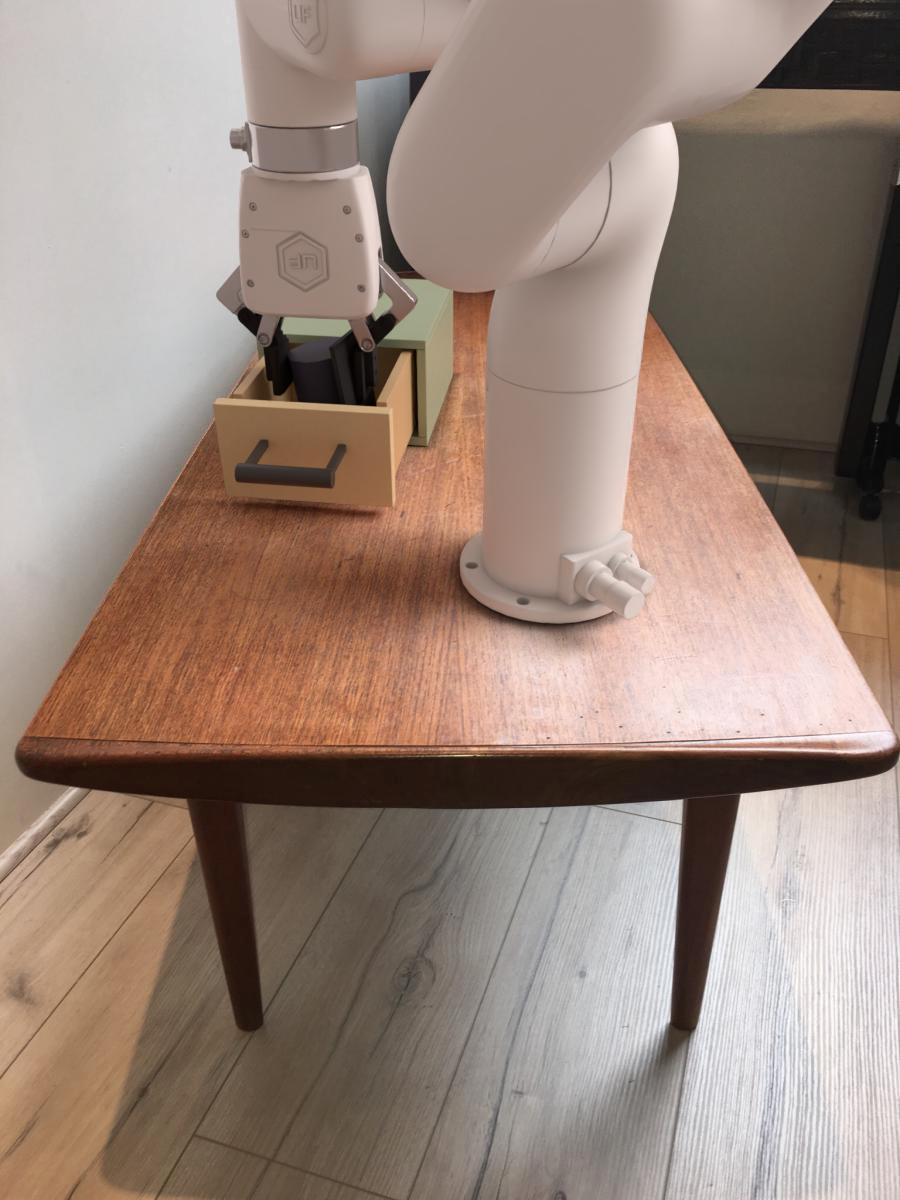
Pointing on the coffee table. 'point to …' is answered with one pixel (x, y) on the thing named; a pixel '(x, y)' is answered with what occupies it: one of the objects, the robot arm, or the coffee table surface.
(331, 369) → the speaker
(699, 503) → the coffee table surface
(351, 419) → the drawer
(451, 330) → the cabinet
